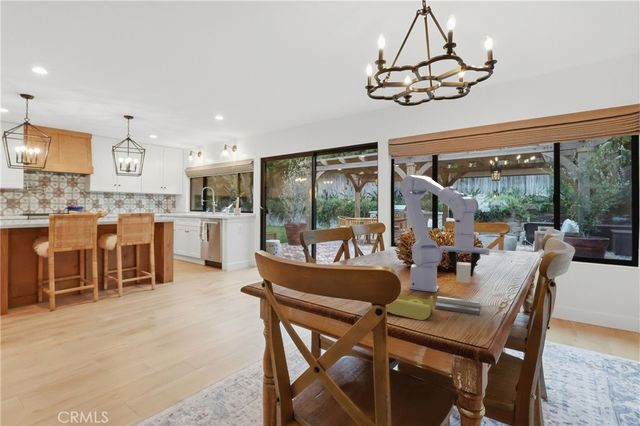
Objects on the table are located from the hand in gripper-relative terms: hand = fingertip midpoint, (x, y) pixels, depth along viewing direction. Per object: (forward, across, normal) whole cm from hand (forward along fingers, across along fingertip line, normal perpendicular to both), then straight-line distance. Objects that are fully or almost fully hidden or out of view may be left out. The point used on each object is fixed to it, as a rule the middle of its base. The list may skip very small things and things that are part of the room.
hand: (463, 275), depth 102 cm
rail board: (+9, -1, -6) cm, 11 cm away
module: (+2, 0, 0) cm, 2 cm away
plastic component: (+9, -17, -17) cm, 26 cm away
